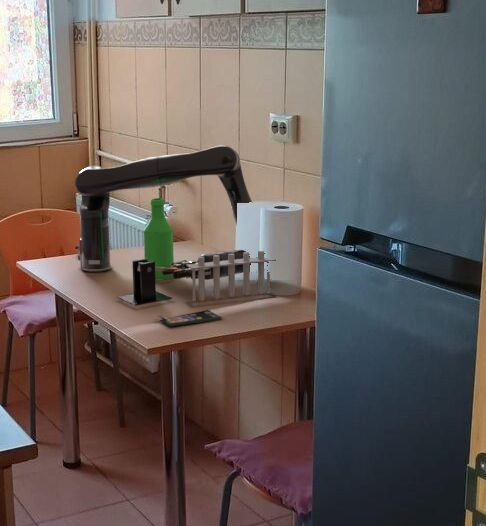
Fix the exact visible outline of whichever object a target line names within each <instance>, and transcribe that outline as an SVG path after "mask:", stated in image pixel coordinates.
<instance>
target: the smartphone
mask: <svg viewBox="0 0 486 526" xmlns="http://www.w3.org/2000/svg"><path fill="white" fill-rule="evenodd" d="M157 317H158V318H160V319H159V321H160V322H162V323H163V324H165V325H166V326H168V327H176V326H184V325H190V324H198V323H205V322H212V321H220V320H222V316H220V315H218V314H216V313H214V312H212V311H210V310H208V309H206V310H201V311H196V312H191V313H186V314H181V315H177V316H173V317H169V318H167V317H166V316H164V315H157Z"/></svg>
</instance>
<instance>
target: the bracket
mask: <svg viewBox="0 0 486 526" xmlns="http://www.w3.org/2000/svg"><path fill="white" fill-rule="evenodd" d="M138 262H142V263H140V271H137V268H138ZM131 263H132V289H133V293H131V294H127V295H122V296H117V299H119V300H122V301H123V302H126V303H128V304H130V305H133V306H134V307H136V306H137V307H138V306H141V305H147V304H151V303H157V302H162V301H167V300H171V299H173V297H171V296H169V295H166V294H164V293H162V292H159V291H157V287H156V286H157V280H156V279H155V262H154V261H151V262H148V259H146V258H145V257H144V258H141V259H133V260H132V262H131Z"/></svg>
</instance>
